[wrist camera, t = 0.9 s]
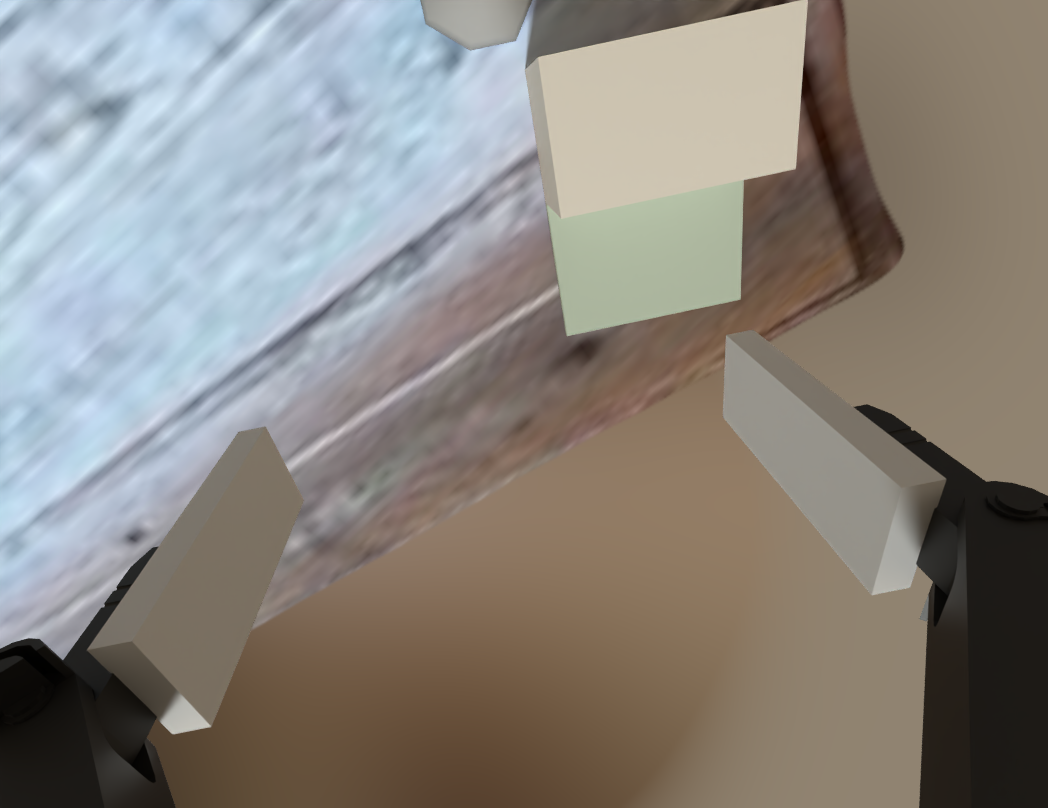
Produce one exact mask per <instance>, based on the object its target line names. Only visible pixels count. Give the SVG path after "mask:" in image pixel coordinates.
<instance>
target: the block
mask: <svg viewBox="0 0 1048 808" xmlns="http://www.w3.org/2000/svg"><path fill="white" fill-rule="evenodd" d="M807 4H808V0H800V1H796V2H791V3H786V4H782V5H777V6H772V7H768V8H763V9H758V10H754V11H749V12H745V13H740V14H735V15H731V16H726V17H721V18H717V19H712V20H707V21H703V22H698V23H693V24H689V25H684V26H680V27H675V28H670V29H666V30H661V31H656V32H652V33H647V34H642V35H638V36H633V37H629V38H624V39H619V40H615V41H610V42H605V43H601V44H596V45H591V46H587V47H582V48H577V49H573V50H568V51H564V52H559V53H554V54H550V55H545V56H540V57H537V58H536V59H535V60H534V62H533V63H532V64H531V65H530V66H529V67H528V68H527V69H526V70H525V74H526V80H527V87H528V93H529V100H530V106H531V112H532V119H533V125H534V132H535V138H536V145H537V151H538V158H539V164H540V170H541V177H542V183H543V190H544V196H545V203H546V204H547V205H548V206H549V207H550V208H551V209H552V210H553V211H554V212H555V213H556V214H557V215H558V216H559V217H560V218H561V219H563V218H567V217H572V216H577V215H581V214H586V213H591V212H596V211H600V210H605V209H610V208H614V207H619V206H624V205H628V204H633V203H638V202H643V201H647V200H652V199H657V198H661V197H666V196H671V195H675V194H680V193H685V192H690V191H694V190H699V189H704V188H708V187H713V186H718V185H722V184H727V183H732V182H737V181H741V180H746V179H751V178H755V177H760V176H765V175H769V174H774V173H779V172H784V171H788V170H793V169H796V157H797V143H798V129H799V115H800V101H801V87H802V73H803V59H804V46H805V32H806V18H807Z"/></svg>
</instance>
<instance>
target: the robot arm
mask: <svg viewBox="0 0 1048 808" xmlns="http://www.w3.org/2000/svg"><path fill="white" fill-rule="evenodd" d="M723 418H724V419H725V420H726V421H727V423H728V424H729V425H730V426H731V427H732V429H733V430H734V431H735V432H736V433H737V435H738V436H739V437H740V438H741V439H742V440H743V442H744V443H745V444H746V445H747V447H748V448H749V449H750V450H751V451H752V452H753V454H754V455H755V456H756V457H757V459H758V460H759V461H760V462H761V463H762V464H763V466H764V467H765V468H766V469H767V470H768V472H769V473H770V474H771V475H772V476H773V478H774V479H775V480H776V481H777V482H778V484H779V485H780V486H781V487H782V488H783V490H784V491H785V492H786V493H787V494H788V496H789V497H790V498H791V499H792V500H793V502H794V503H795V504H796V505H797V506H798V508H799V509H800V510H801V511H802V512H803V514H804V515H805V516H806V517H807V518H808V519H809V520H810V522H811V523H812V524H813V526H814V527H815V528H816V529H817V530H818V532H819V533H820V534H821V535H822V536H823V538H824V539H825V540H826V541H827V542H828V543H829V545H830V546H831V547H832V548H833V550H834V551H835V552H836V553H837V554H838V556H839V557H840V558H841V559H842V560H843V561H844V563H845V564H846V565H847V566H848V568H849V569H850V570H851V571H852V572H853V574H854V575H855V576H856V577H857V578H858V579H859V581H860V582H861V583H862V584H863V585H864V587H865V588H866V589H867V590H868V591H869V593H870V594H871V595H875V594H880V593H884V592H890V591H895V590H900V589H905V588H910V586H911V583H912V580H913V577H914V574H915V571H916V568H917V566H918V567H919V568H921V570H922V571H923V572H924V573H925V574H926V575H927V576H928V577H929V578H930V579H931V580H932V581H933V584H932V586H931V589H930V592H929V594H928V597H927V600H926V603H925V605H924V608H923V611H922V613H921V616H920V619H921V620H924V621H927V619H928V625H927V647H926V668H925V691H924V715H923V735H922V757H921V758H922V759H921V780H920V802H919V808H1048V496H1047V495H1045V494H1043V493H1040V492H1038V491H1036V490H1034V489H1032V488H1028V487H1025V486H1021V485H1018V484H1014V483H1008V482H998V481H990V482H986V481H984V480H983V479H982V478H980V477H979V476H977V475H976V474H975V473H973V472H972V471H970V470H969V469H968V468H966V467H965V466H964V465H962V464H961V463H959V462H958V461H957V460H955V459H954V458H952V457H951V456H950V455H948V454H947V453H945V452H944V451H943V450H941V449H940V448H938V447H937V446H936V445H934V444H933V443H931V442H927V441H926V438H925V437H923V436H922V435H920V434H919V433H917V432H916V431H912V430H911V427H909V426H908V425H906V424H905V423H904V422H902V421H901V420H899V419H898V418H896V417H895V416H894V415H892V414H890V413H888V412H885V411H883V410H880V409H877V408H875V407H873V406H870V405H862V406H856V407H852V406H851V405H850V404H849V403H847V402H846V401H845V400H843V399H842V398H841V397H839V396H838V395H837V394H836V393H834V392H833V391H832V390H830V389H829V388H828V387H826V386H825V385H824V384H823V383H821V382H820V381H818V380H817V379H816V378H815V377H814V376H812V375H811V374H810V373H808V372H807V371H806V370H804V369H803V368H802V367H801V366H799V365H798V364H796V363H795V362H794V361H793V360H791V359H790V358H789V357H787V356H786V355H785V354H784V353H782V352H781V351H780V350H778V349H777V348H776V347H775V346H773V345H772V344H771V343H769V342H768V341H767V340H765V339H764V338H763V337H762V336H760V335H759V334H758V333H756V332H755V331H754V330H750V331H745V332H740V333H735V334H730V335H726V352H725V378H724V402H723ZM303 501H304V500H303V498H302V496H301V494H300V492H299V490H298V488H297V486H296V484H295V482H294V480H293V478H292V476H291V475H290V473H289V471H288V469H287V467H286V465H285V463H284V461H283V459H282V457H281V455H280V453H279V451H278V450H277V448H276V446H275V444H274V442H273V440H272V438H271V436H270V434H269V432H268V430H267V428H266V427H261V428H256V429H251V430H246V431H241V432H238V434H237V435H236V436H235V438H234V439H233V441H232V442H231V444H230V445H229V447H228V448H227V449H226V451H225V452H224V454H223V455H222V457H221V458H220V459H219V461H218V462H217V464H216V465H215V467H214V468H213V469H212V471H211V472H210V474H209V475H208V477H207V478H206V480H205V481H204V482H203V484H202V485H201V487H200V488H199V490H198V491H197V492H196V494H195V495H194V497H193V498H192V500H191V501H190V503H189V504H188V505H187V507H186V508H185V510H184V511H183V513H182V514H181V515H180V517H179V518H178V520H177V521H176V523H175V524H174V526H173V527H172V528H171V530H170V531H169V533H168V534H167V536H166V537H165V538H164V540H163V541H162V543H161V544H160V546H159V547H154V548H152V549H150V550H149V551H148V552H147V553H146V554H145V555H144V556H143V557H141V558H140V559H139V560H138V561H137V562H136V563H135V564H134V565H133V566H131V568H130V569H129V570H128V572H127V573H126V574H125V576H124V577H123V579H122V580H121V581H120V583H119V584H118V585H117V590H116V591H113V592H112V594H111V595H110V596H109V598H108V599H107V601H106V602H105V603H104V604H105V607H103V608H101V609H100V610H99V612H98V613H97V614H96V616H95V617H94V619H93V620H92V621H91V623H90V624H89V625H88V627H87V628H86V630H85V631H84V632H83V634H82V635H81V636H80V638H79V639H78V641H77V642H76V643H75V645H74V646H73V647H72V649H71V650H70V652H69V653H68V654H67V656H66V657H65V658H64V660H62V659H61V658H60V657H59V656H57V655H56V654H55V653H54V652H53V651H52V650H51V649H50V648H49V647H48V646H47V645H46V644H44V643H43V642H42V641H41V640H40V639H31V638H28V639H24V640H21V641H17V642H14V643H11V644H9V645H7V646H5V647H3V648H1V649H0V808H176V807H175V804H174V801H173V798H172V795H171V792H170V789H169V786H168V783H167V780H166V777H165V775H164V771H163V768H162V765H161V762H160V759H159V756H158V753H157V750H156V748H155V746H153V744H152V743H151V742H150V741H149V740H148V739H147V735H148V734H149V732H150V730H151V728H152V726H153V724H154V722H155V720H156V718H157V719H158V720H159V721H160V722H161V723H162V724H163V725H164V726H165V727H166V728H167V729H168V730H169V731H170V732H171V733H172V734H177V733H182V732H186V731H192V730H197V729H202V728H207V727H211V726H212V724H213V721H214V718H215V716H216V714H217V711H218V709H219V707H220V704H221V702H222V699H223V697H224V694H225V692H226V689H227V687H228V684H229V682H230V680H231V677H232V675H233V672H234V670H235V667H236V665H237V663H238V660H239V658H240V655H241V653H242V650H243V648H244V645H245V643H246V641H247V638H248V636H249V633H250V631H251V628H252V626H253V623H254V621H255V619H256V616H257V614H258V611H259V609H260V606H261V604H262V601H263V599H264V597H265V594H266V592H267V589H268V587H269V584H270V582H271V579H272V577H273V575H274V572H275V570H276V567H277V565H278V562H279V560H280V557H281V555H282V553H283V550H284V548H285V545H286V543H287V540H288V538H289V535H290V533H291V531H292V528H293V526H294V523H295V521H296V518H297V516H298V513H299V511H300V509H301V506H302V504H303Z"/></svg>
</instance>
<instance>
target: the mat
mask: <svg viewBox="0 0 1048 808" xmlns="http://www.w3.org/2000/svg"><path fill="white" fill-rule="evenodd" d="M743 182H744V180H741V181H737V182H732V183H727V184H722V185H718V186H713V187H708V188H704V189H699V190H694V191H690V192H685V193H680V194H675V195H671V196H666V197H661V198H657V199H652V200H647V201H643V202H638V203H633V204H628V205H624V206H619V207H614V208H610V209H605V210H600V211H596V212H591V213H586V214H581V215H577V216H572V217H567V218H563V219H561V218H560V217H559V216H558V215H557V214H556V213H555V212H554V211H553V210H552V209H551V208H550V207H549V206H548V205H547V204H546V209H547V215H548V222H549V228H550V235H551V241H552V248H553V254H554V261H555V267H556V273H557V280H558V286H559V293H560V299H561V306H562V312H563V318H564V325H565V331H566V335H567V336H570V335H574V334H579V333H584V332H589V331H593V330H598V329H603V328H608V327H612V326H617V325H622V324H626V323H631V322H636V321H641V320H645V319H650V318H655V317H660V316H664V315H669V314H674V313H679V312H683V311H688V310H693V309H698V308H702V307H707V306H712V305H717V304H721V303H726V302H731V301H736V300H740V299H741V260H742V221H743Z"/></svg>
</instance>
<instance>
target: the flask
mask: <svg viewBox="0 0 1048 808" xmlns="http://www.w3.org/2000/svg"><path fill="white" fill-rule="evenodd" d="M531 2H532V0H421V5H422V9H423V14H424V18H425V23H426V25H428V26H430V27H431V28H433V29H435V30H436V31H438V32H440V33H441V34H443V35H445V36H447V37H448V38H450V39H452V40H453V41H455V42H457V43H458V44H460V45H462V46H463V47H465V48H467V49H468V50H470V51H471V50H475V49H480V48H485V47H489V46H494V45H499V44H504V43H508V42H513V41H516V39H517V37H518V34H519V32H520V29H521V27H522V24H523V22H524V19H525V17H526V15H527V12H528V10H529V7H530V5H531Z"/></svg>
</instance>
